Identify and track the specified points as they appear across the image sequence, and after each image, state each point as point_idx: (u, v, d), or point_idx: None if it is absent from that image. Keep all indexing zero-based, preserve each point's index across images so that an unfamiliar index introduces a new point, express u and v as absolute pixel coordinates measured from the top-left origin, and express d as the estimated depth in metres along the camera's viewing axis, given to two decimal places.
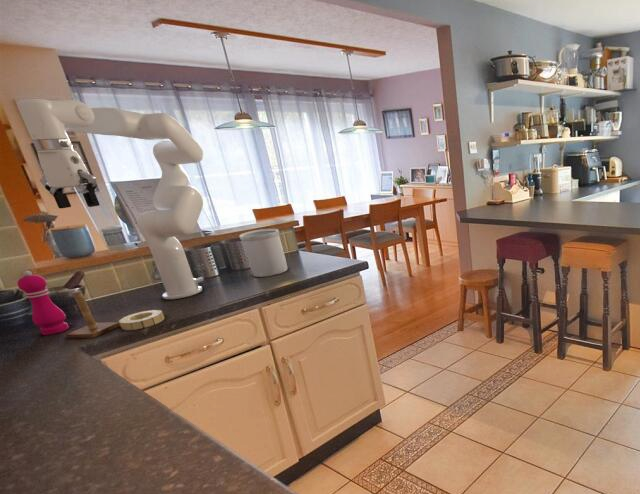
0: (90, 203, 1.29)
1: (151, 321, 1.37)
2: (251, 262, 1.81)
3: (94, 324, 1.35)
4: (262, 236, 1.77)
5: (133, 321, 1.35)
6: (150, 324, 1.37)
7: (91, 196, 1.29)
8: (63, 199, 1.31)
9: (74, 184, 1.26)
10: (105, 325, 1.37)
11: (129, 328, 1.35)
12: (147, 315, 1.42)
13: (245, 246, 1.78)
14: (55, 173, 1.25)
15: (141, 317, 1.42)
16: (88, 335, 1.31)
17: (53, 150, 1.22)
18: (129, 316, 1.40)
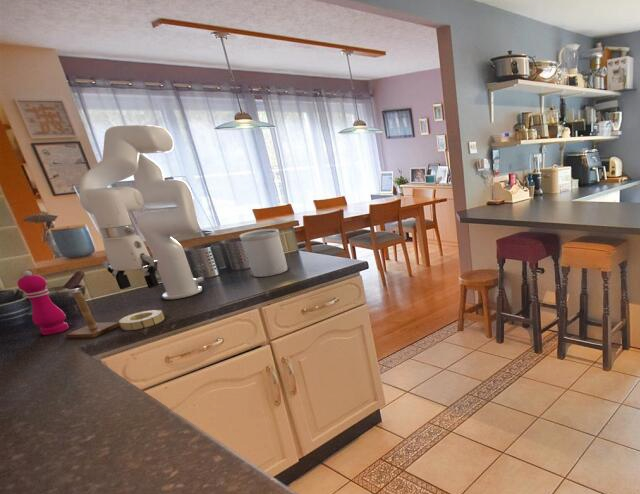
0: (151, 284, 1.33)
1: (151, 321, 1.37)
2: (251, 262, 1.81)
3: (94, 324, 1.35)
4: (262, 236, 1.77)
5: (133, 321, 1.35)
6: (150, 324, 1.37)
7: (152, 278, 1.33)
8: (124, 280, 1.34)
9: (136, 268, 1.30)
10: (105, 325, 1.37)
11: (129, 328, 1.35)
12: (147, 315, 1.42)
13: (245, 246, 1.78)
14: (119, 258, 1.29)
15: (141, 317, 1.42)
16: (88, 335, 1.31)
17: (118, 237, 1.26)
18: (129, 316, 1.40)
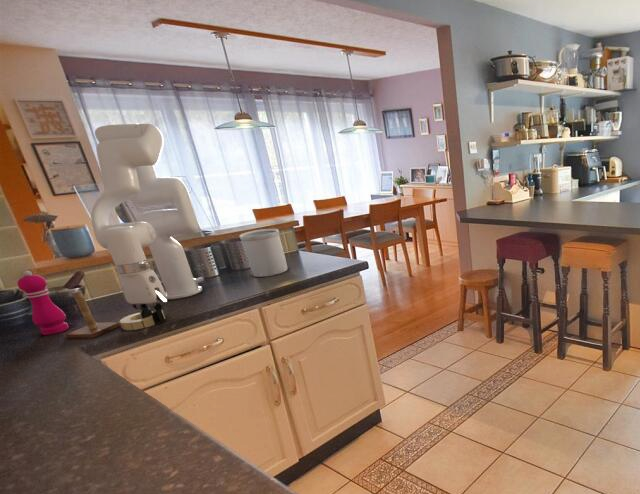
0: (157, 321, 1.38)
1: (152, 321, 1.37)
2: (251, 262, 1.81)
3: (94, 324, 1.35)
4: (262, 236, 1.77)
5: (134, 321, 1.35)
6: (151, 324, 1.37)
7: (158, 314, 1.38)
8: (149, 315, 1.39)
9: (151, 301, 1.34)
10: (105, 325, 1.37)
11: (130, 328, 1.35)
12: None
13: (245, 246, 1.78)
14: (134, 292, 1.33)
15: None
16: (88, 335, 1.31)
17: (134, 273, 1.30)
18: (130, 316, 1.40)
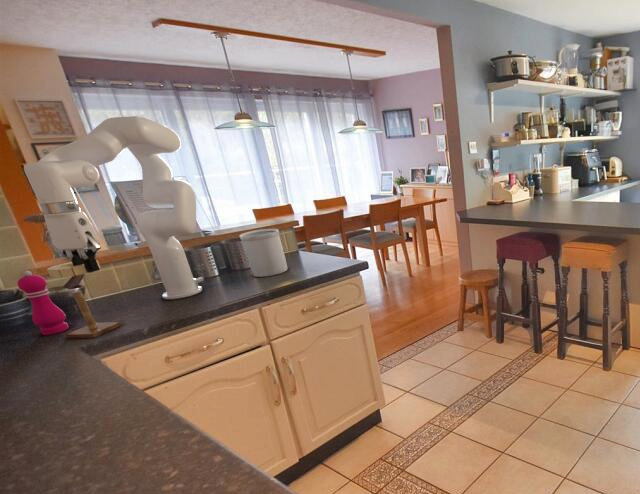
0: (90, 269, 1.27)
1: (83, 269, 1.26)
2: (251, 262, 1.81)
3: (94, 324, 1.35)
4: (262, 236, 1.77)
5: (62, 268, 1.24)
6: (82, 272, 1.26)
7: (91, 262, 1.27)
8: (81, 263, 1.28)
9: (82, 246, 1.23)
10: (105, 325, 1.37)
11: (58, 275, 1.24)
12: None
13: (245, 246, 1.78)
14: (62, 235, 1.22)
15: None
16: (88, 335, 1.31)
17: (60, 213, 1.19)
18: (60, 265, 1.28)
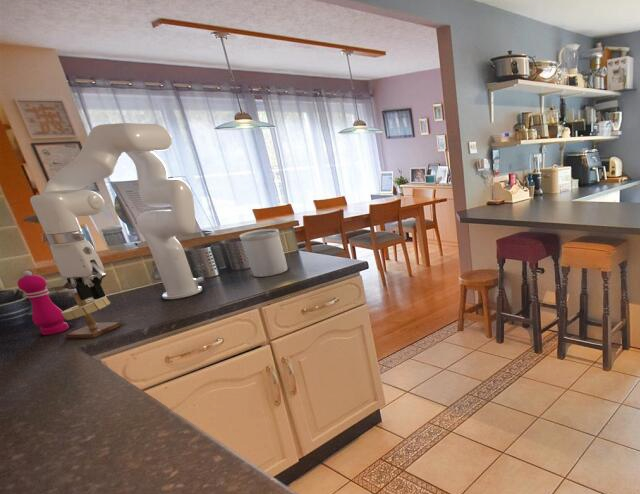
0: (96, 296, 1.30)
1: (93, 306, 1.30)
2: (251, 262, 1.81)
3: (94, 324, 1.35)
4: (262, 236, 1.77)
5: (74, 309, 1.28)
6: (93, 310, 1.30)
7: (97, 289, 1.29)
8: (85, 290, 1.30)
9: (87, 274, 1.26)
10: (105, 325, 1.37)
11: (72, 317, 1.28)
12: None
13: (245, 246, 1.78)
14: (68, 264, 1.25)
15: None
16: (88, 335, 1.31)
17: (66, 243, 1.22)
18: (73, 307, 1.33)
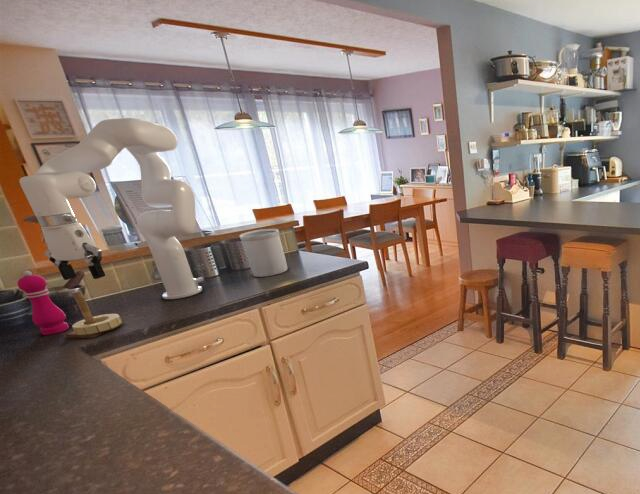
0: (96, 275, 1.27)
1: (106, 325, 1.33)
2: (251, 262, 1.81)
3: None
4: (262, 236, 1.77)
5: (87, 325, 1.30)
6: (105, 328, 1.33)
7: (97, 268, 1.27)
8: (68, 270, 1.29)
9: (79, 258, 1.24)
10: None
11: (83, 333, 1.30)
12: (103, 319, 1.38)
13: (245, 246, 1.78)
14: (60, 247, 1.23)
15: (97, 321, 1.37)
16: (88, 335, 1.31)
17: (57, 226, 1.20)
18: (84, 320, 1.35)
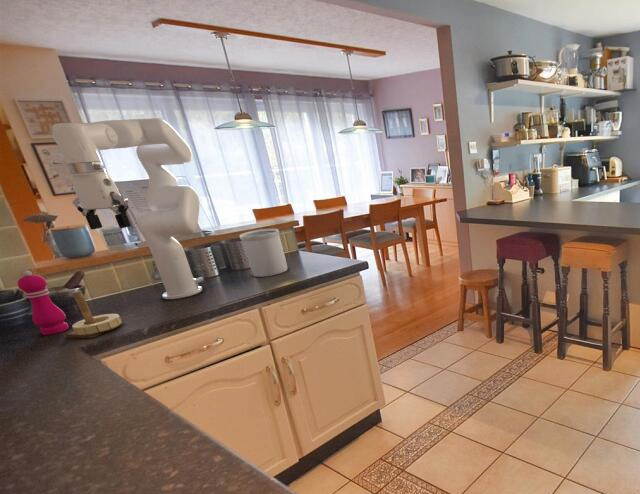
0: (122, 224, 1.31)
1: (106, 325, 1.33)
2: (251, 262, 1.81)
3: None
4: (262, 236, 1.77)
5: (87, 325, 1.30)
6: (105, 328, 1.33)
7: (123, 217, 1.30)
8: (95, 220, 1.32)
9: (106, 206, 1.28)
10: None
11: (83, 333, 1.30)
12: (103, 319, 1.38)
13: (245, 246, 1.78)
14: (88, 195, 1.27)
15: (97, 321, 1.37)
16: (88, 335, 1.31)
17: (87, 173, 1.24)
18: (84, 320, 1.35)
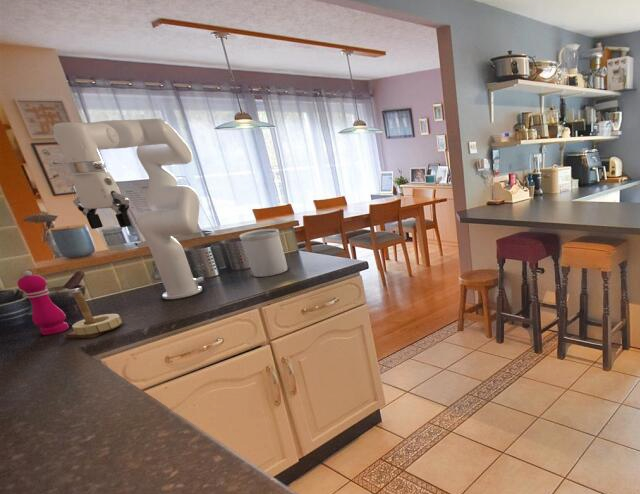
0: (122, 224, 1.31)
1: (106, 325, 1.33)
2: (251, 262, 1.81)
3: None
4: (262, 236, 1.77)
5: (87, 325, 1.30)
6: (105, 328, 1.33)
7: (123, 217, 1.31)
8: (95, 219, 1.32)
9: (107, 205, 1.28)
10: None
11: (83, 333, 1.30)
12: (103, 319, 1.38)
13: (245, 246, 1.78)
14: (89, 195, 1.27)
15: (97, 321, 1.37)
16: (88, 335, 1.31)
17: (88, 172, 1.24)
18: (84, 320, 1.35)
